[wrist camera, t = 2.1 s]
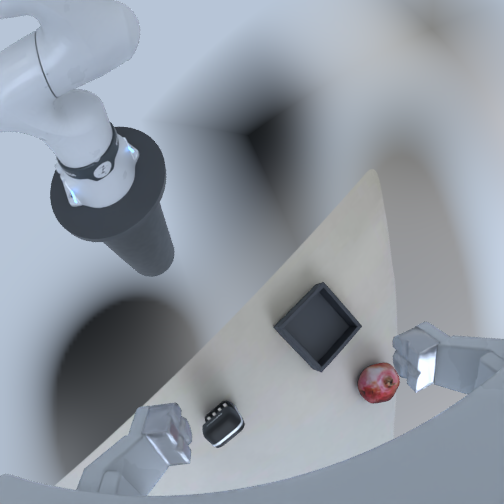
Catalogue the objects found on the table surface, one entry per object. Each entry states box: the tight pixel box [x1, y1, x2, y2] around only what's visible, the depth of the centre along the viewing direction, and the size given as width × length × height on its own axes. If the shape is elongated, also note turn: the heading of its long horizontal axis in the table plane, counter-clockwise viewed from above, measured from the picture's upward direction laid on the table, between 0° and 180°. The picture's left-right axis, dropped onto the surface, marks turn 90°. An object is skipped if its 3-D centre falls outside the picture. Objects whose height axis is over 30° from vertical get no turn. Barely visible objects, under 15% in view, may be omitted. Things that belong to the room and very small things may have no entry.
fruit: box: [358, 363, 400, 403], centre depth 52 cm, size 9×10×10 cm
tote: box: [274, 282, 362, 372], centre depth 55 cm, size 13×13×4 cm
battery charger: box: [203, 401, 245, 448], centre depth 45 cm, size 7×4×11 cm, turn 133°
